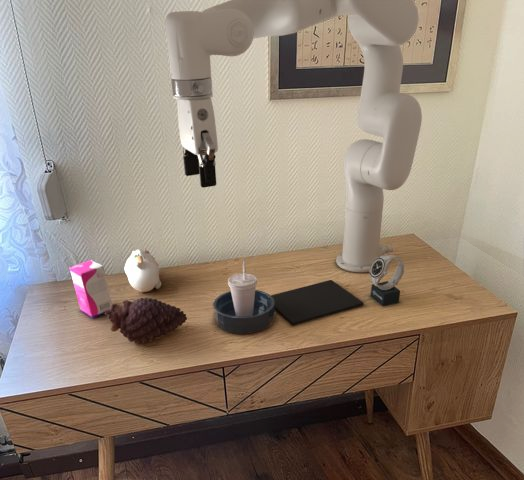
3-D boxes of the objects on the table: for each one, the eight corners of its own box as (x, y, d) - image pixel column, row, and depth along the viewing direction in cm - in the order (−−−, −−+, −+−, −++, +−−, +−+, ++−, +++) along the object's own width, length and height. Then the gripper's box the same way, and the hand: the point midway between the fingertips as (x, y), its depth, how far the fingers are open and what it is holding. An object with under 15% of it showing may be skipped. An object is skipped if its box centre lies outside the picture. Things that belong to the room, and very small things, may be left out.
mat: (330, 282, 134) (331, 279, 133) (363, 305, 123) (363, 302, 123) (264, 300, 127) (264, 297, 126) (292, 326, 116) (292, 322, 116)
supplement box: (101, 302, 128) (91, 258, 122) (114, 310, 125) (104, 265, 118) (79, 310, 125) (68, 266, 119) (92, 319, 121) (81, 274, 115)
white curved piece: (147, 262, 124) (137, 234, 135) (120, 282, 125) (112, 252, 136) (171, 287, 131) (159, 258, 142) (145, 306, 132) (136, 276, 143)
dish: (258, 299, 127) (257, 284, 125) (285, 324, 117) (285, 308, 114) (205, 313, 122) (204, 297, 120) (229, 341, 112) (227, 324, 110)
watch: (363, 297, 126) (367, 255, 120) (392, 291, 129) (397, 249, 122) (375, 308, 122) (380, 264, 116) (405, 301, 124) (411, 257, 118)
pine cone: (176, 314, 122) (189, 288, 115) (185, 350, 118) (199, 326, 110) (98, 314, 114) (106, 286, 106) (105, 353, 109) (114, 327, 102)
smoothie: (255, 326, 116) (252, 267, 108) (227, 324, 117) (222, 266, 110) (261, 312, 121) (259, 255, 114) (234, 310, 122) (230, 254, 115)
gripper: (227, 92, 94) (233, 188, 103) (195, 82, 107) (203, 168, 117) (188, 96, 91) (197, 194, 101) (160, 85, 105) (170, 173, 114)
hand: (200, 180), depth 109 cm, fingers open, 9 cm apart
